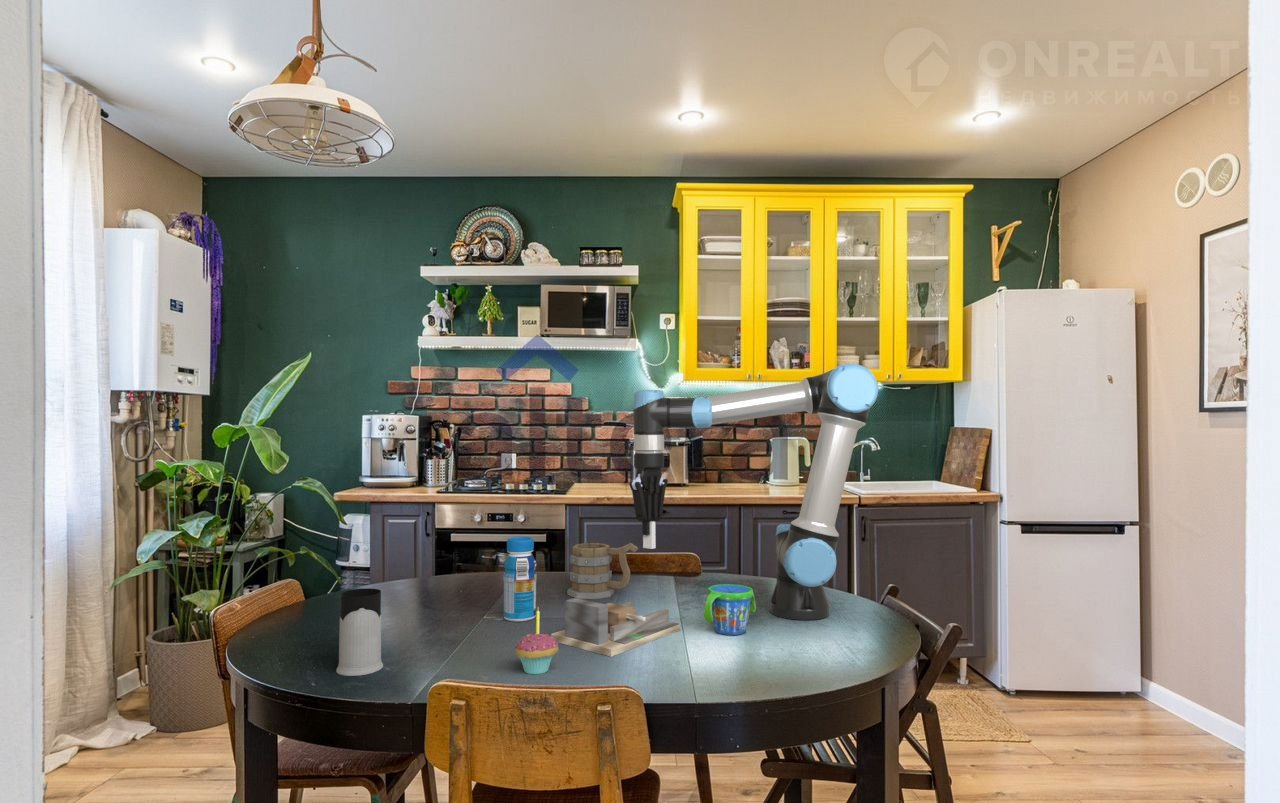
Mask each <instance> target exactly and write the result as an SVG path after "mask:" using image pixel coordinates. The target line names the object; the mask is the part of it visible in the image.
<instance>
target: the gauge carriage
mask: <svg viewBox="0 0 1280 803" xmlns="http://www.w3.org/2000/svg"><path fill="white" fill-rule="evenodd" d="M605 604H606V605H608V632H610V627H611V626H614V625H617V624H620V623H623V622H626V621H629V620H632V619H634V620H638V621H643V622H644V621H646V617H642V616H643V615H641V616H637V615H638V614H636V607H634V608H632V607H627V606H622V605H621V604H616V603H612V602H608V603H605Z"/></svg>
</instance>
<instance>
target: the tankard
mask: <svg viewBox="0 0 1280 803" xmlns="http://www.w3.org/2000/svg"><path fill="white" fill-rule="evenodd" d="M638 549H639V547H638V546H637V545H635V544H633V543H632V542H629V543H627V544H625V545H623V546H621V547H610V545H609V544H606V543H599V542H596V543H595V542H589V543H588V542H585V543H577V544H575V545H573V546H572V549H571V550H572V554H570V556H569V564H571V565H572V567H571V568H572V570H571V571H570V572H569V580H570V581H571V586H570V587H569V588H568V589H567V590H566V593H567V596H568V595H569V596H568V597H571V598H573V597H574V598H577V599H582V600H590V599H591V600H590V601H592V600H594V601H595V600H600V599H607V598H610V597H611V596H613V595H614V593H615V589H616V590H617V589H624V588H626V587H627V585H628V583H629V582H630V580H631V570H630V567H629V564H628V559H627V552H629V551H631V552H632V553H636V552H637V550H638ZM613 555H618V563H619V567H620V569H621V573H622V578H621V580H618V581H617V580H612V577H613V576H612V574H613V573H612V572H613V571H612V569H611V568H610V564H611V563H612V561H613Z"/></svg>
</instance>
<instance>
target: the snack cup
mask: <svg viewBox="0 0 1280 803" xmlns="http://www.w3.org/2000/svg"><path fill="white" fill-rule="evenodd" d="M707 594H708V596H707V598H706V600H705V604H704V611H703V618H704V621H706V622H707V623H709V624H712V623H713V627H714V630H715V631H716V632H717V633H718V634H720V635H726V636H738V635H742V634H745V633H747V628H748V622H749V618H750V613H751V614H754V613H755V612H756V609H757V606H756V598H755V595H754V590H753V588H752V587H750V586H746V585H742V584H731V583H729V584H728V583H725V584H715V585H711V586H709V587H708V588H707Z"/></svg>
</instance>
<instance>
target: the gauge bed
mask: <svg viewBox="0 0 1280 803" xmlns="http://www.w3.org/2000/svg"><path fill="white" fill-rule="evenodd" d="M606 604H607V603H600V602H596V601H592V600H588V599H577V598H573V597H572V598H569V599H566V600H565V604H564V605H565V606H564V608H565V610H564V611H565V612H564V613H565V615H564V623H565V625H564V627H565V628H564V629H563V630H559V631H556V632H553V633H550V636H552V637H553V638H555V640H556V641H557V643H558V644H563V645H564V646H565V645H566V646H570V647H573V648H577V649H581V650H584V651H587V652H592V653H596V654H600V655H604V656H608V657H610V658H612V657H614V656H617V655H620V654H621V653H625V652H627V651H629V650H633V649H635V648H637V647H640V646H643V645H646V644H648V643H651V642H653V641H655V640H658V639H661V638H664V637H666V636H668V635H671V634H674V633H676V632H679V631H681V624H680V623H677V622H674V621H670V620H669V618H670V617H669V616H670V612H669V609H667V608H663V609H660V610H657V611H654V612H651V613H648V614H645V615H640V614H636V615H637V616H642V617H646V621H644V622H643V621H638V620H634V619H632V620H629V621H626V622H623V623H620V624H617V625H614V626H611V627H610V632H608V605H606ZM620 605H622V606H627V607H632V608H635V603H634V602H632V601H629V602H625V603H622V604H620Z"/></svg>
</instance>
